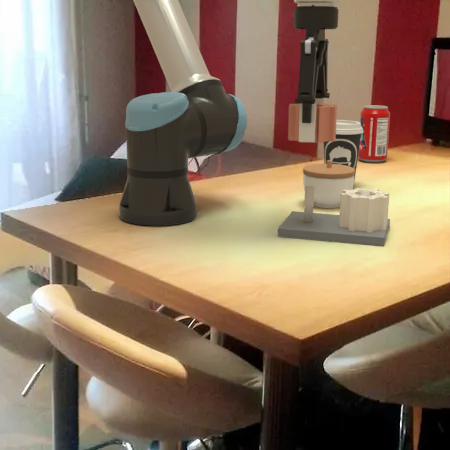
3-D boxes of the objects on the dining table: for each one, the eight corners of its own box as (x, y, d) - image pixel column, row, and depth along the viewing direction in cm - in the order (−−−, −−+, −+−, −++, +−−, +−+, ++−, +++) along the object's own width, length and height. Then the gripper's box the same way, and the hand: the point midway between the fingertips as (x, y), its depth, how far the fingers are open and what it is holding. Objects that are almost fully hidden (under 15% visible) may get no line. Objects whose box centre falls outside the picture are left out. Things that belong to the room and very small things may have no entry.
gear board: (277, 236, 132) (278, 192, 129) (292, 218, 144) (293, 178, 141) (383, 246, 126) (386, 200, 124) (389, 226, 138) (392, 184, 136)
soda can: (380, 164, 198) (384, 108, 194) (353, 161, 202) (356, 106, 198) (391, 160, 205) (394, 105, 201) (364, 157, 209) (367, 103, 205)
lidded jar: (352, 212, 149) (354, 166, 146) (299, 209, 151) (300, 164, 148) (354, 200, 159) (356, 157, 156) (304, 197, 161) (305, 155, 158)
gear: (287, 142, 128) (288, 107, 127) (289, 135, 136) (290, 102, 135) (335, 143, 127) (337, 108, 126) (334, 136, 135) (336, 103, 134)
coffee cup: (369, 188, 170) (373, 123, 166) (338, 193, 165) (341, 126, 161) (340, 181, 178) (343, 118, 174) (310, 185, 173) (312, 121, 169)
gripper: (328, 3, 115) (322, 148, 121) (347, 6, 134) (341, 130, 140) (281, 3, 117) (277, 145, 123) (306, 6, 137) (302, 129, 143)
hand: (311, 137), depth 132 cm, fingers closed on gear, 9 cm apart
